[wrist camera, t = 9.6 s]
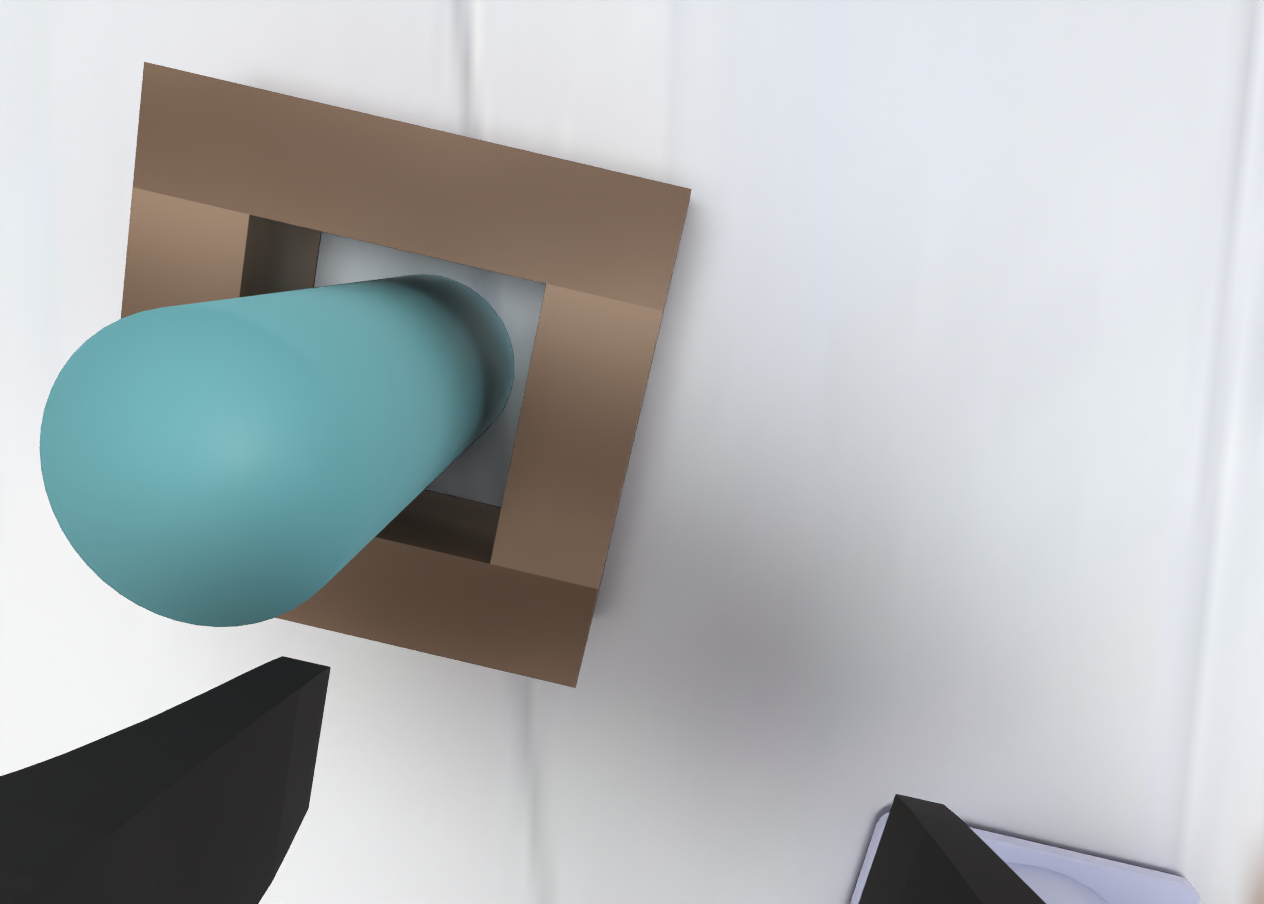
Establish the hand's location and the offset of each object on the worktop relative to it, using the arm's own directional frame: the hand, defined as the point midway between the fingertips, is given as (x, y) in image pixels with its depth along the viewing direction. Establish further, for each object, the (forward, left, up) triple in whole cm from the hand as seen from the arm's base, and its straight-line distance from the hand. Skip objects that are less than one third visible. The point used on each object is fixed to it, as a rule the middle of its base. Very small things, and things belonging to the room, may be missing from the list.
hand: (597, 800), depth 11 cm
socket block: (+3, +6, -10) cm, 12 cm away
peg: (+3, +6, -10) cm, 12 cm away
